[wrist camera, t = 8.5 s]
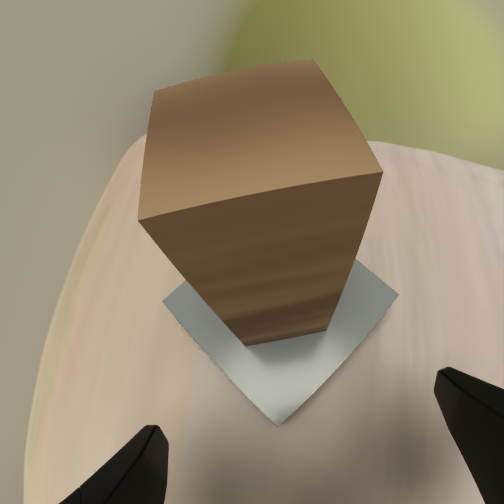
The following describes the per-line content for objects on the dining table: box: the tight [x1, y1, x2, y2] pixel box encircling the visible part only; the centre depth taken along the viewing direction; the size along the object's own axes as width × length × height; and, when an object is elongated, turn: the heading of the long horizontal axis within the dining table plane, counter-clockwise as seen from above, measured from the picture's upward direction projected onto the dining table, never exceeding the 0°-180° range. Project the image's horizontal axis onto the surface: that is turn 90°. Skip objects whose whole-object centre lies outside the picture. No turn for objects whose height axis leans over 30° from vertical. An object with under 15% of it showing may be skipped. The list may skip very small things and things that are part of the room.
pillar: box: [138, 59, 383, 346], centre depth 12 cm, size 4×4×12 cm
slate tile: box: [162, 259, 399, 427], centre depth 19 cm, size 10×10×3 cm
